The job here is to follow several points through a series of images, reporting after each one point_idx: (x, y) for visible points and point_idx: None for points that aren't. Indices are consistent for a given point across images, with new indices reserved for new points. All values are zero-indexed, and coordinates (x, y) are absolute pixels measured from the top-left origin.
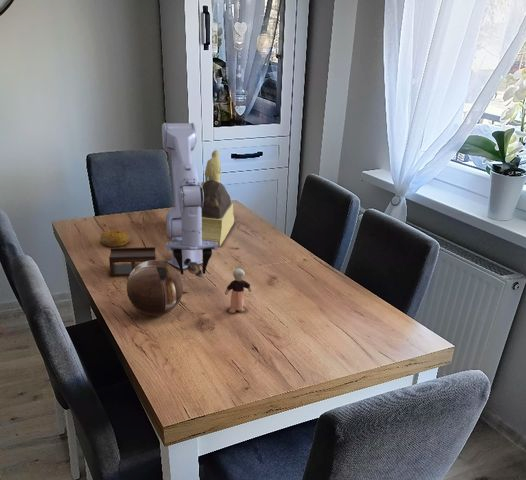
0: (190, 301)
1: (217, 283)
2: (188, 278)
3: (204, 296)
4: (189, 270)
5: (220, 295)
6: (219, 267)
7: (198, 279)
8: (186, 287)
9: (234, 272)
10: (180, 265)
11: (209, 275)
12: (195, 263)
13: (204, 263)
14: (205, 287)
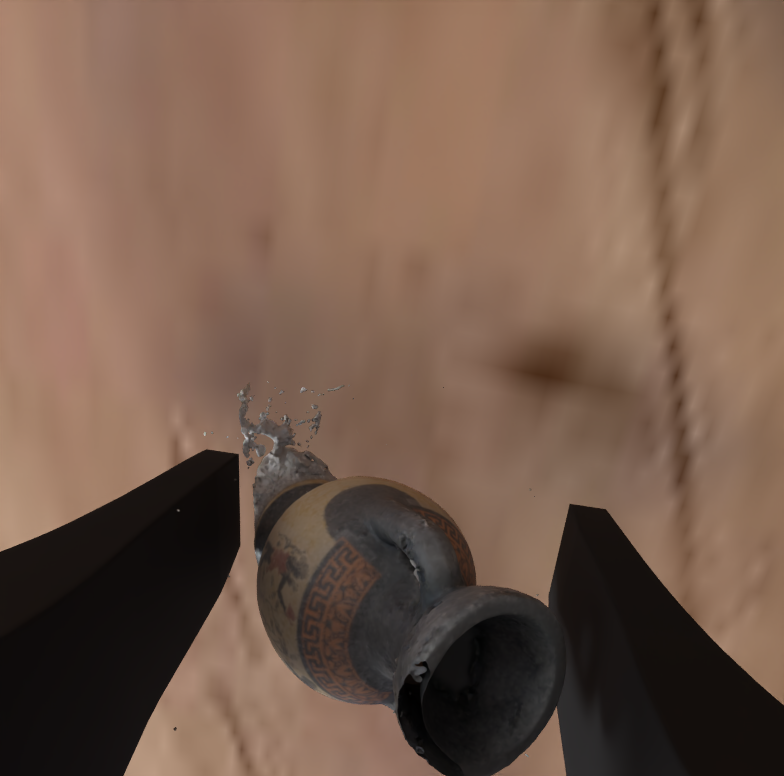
0: (520, 101)
1: None
2: None
3: (318, 221)
4: (456, 526)
5: (128, 212)
6: (130, 768)
7: (335, 389)
8: (487, 489)
9: None
10: (661, 612)
11: (222, 666)
12: (308, 627)
13: (107, 544)
14: None
